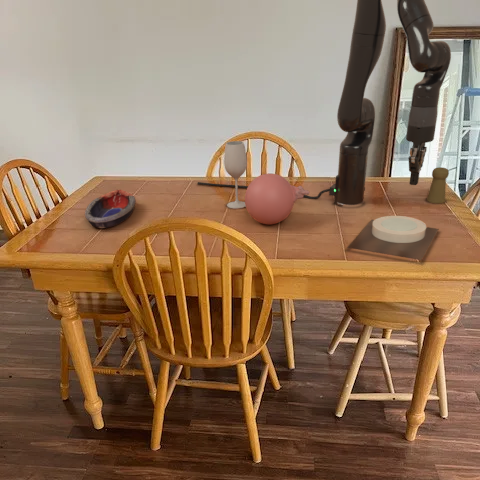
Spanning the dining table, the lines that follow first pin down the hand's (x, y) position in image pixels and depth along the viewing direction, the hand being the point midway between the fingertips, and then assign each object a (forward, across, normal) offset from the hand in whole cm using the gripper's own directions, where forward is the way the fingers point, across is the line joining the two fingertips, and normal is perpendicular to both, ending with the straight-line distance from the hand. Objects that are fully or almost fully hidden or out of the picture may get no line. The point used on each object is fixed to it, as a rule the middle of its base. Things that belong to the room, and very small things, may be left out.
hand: (413, 184), depth 149 cm
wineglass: (+11, +6, -57) cm, 59 cm away
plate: (+11, +12, 0) cm, 17 cm away
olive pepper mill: (+12, -24, +4) cm, 28 cm away
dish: (+11, +32, -91) cm, 98 cm away
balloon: (+12, +16, -37) cm, 42 cm away
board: (+12, +16, 0) cm, 20 cm away
